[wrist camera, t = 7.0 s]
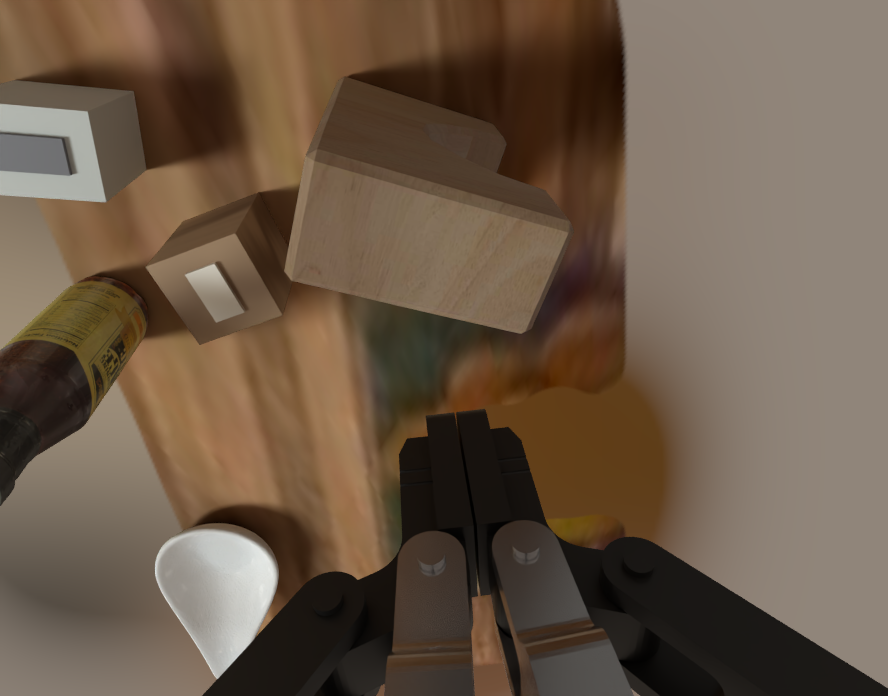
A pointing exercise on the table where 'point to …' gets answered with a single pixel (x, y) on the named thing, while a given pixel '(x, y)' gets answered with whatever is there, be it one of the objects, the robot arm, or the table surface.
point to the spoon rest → (218, 587)
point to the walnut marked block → (224, 269)
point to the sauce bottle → (64, 368)
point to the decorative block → (422, 213)
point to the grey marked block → (68, 141)
